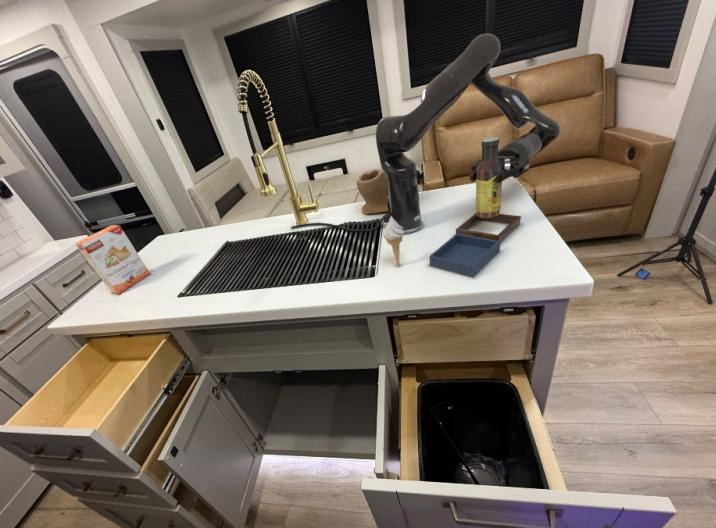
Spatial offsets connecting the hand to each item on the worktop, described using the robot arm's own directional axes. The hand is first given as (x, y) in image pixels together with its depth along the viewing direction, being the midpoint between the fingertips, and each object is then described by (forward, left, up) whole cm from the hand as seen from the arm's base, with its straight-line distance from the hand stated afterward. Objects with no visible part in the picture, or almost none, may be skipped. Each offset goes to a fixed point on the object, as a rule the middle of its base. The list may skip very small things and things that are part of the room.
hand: (484, 178), depth 88 cm
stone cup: (-42, +4, -16) cm, 45 cm away
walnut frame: (0, +2, -16) cm, 16 cm away
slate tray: (+2, -14, -16) cm, 21 cm away
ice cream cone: (-12, -24, -16) cm, 31 cm away
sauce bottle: (0, +2, -11) cm, 11 cm away
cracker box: (-98, -77, -16) cm, 125 cm away
